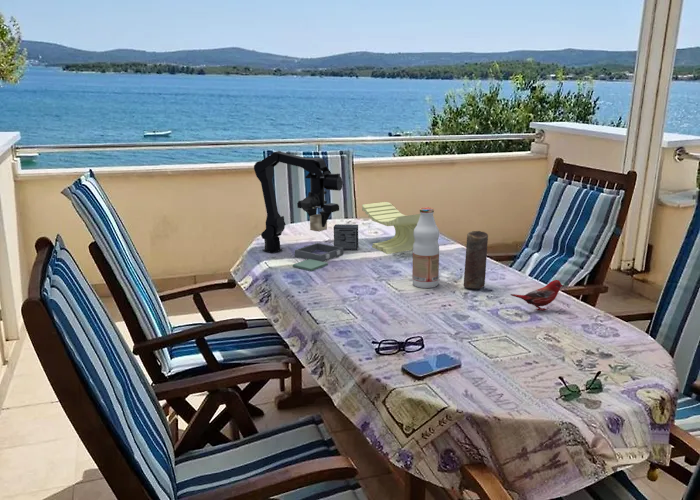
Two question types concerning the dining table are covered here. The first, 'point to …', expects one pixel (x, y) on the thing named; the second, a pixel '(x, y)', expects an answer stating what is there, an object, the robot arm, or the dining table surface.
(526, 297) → the decorative bird figurine
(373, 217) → the slatted curved stool
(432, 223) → the fruit juice
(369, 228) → the dining table surface
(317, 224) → the block
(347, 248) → the small box
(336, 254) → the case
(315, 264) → the mat
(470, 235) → the candle
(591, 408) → the dining table surface
